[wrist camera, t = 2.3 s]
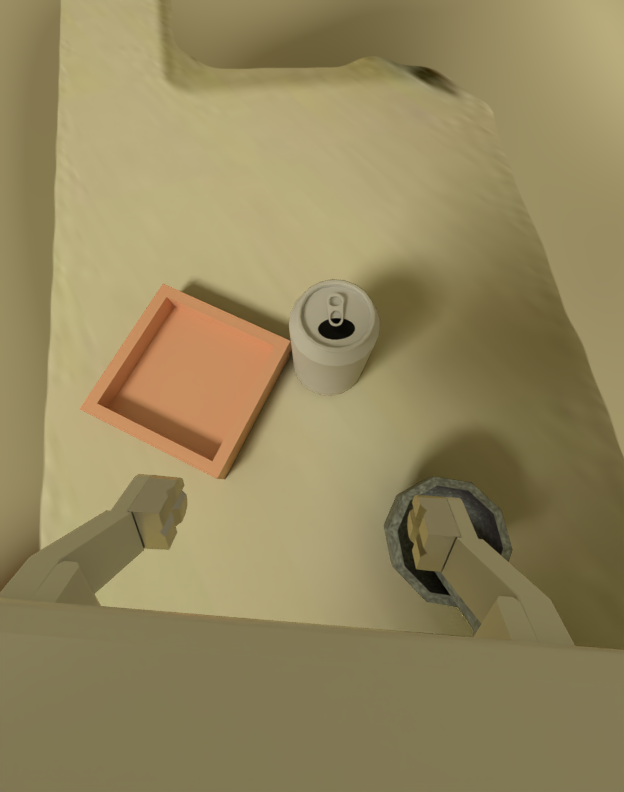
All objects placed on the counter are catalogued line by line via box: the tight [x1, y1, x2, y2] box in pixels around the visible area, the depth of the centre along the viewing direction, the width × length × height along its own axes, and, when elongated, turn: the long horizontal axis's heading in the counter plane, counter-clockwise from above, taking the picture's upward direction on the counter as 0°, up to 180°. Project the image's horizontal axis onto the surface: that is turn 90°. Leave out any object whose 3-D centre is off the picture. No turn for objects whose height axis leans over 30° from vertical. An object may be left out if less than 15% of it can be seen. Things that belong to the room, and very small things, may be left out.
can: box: [289, 279, 380, 396], centre depth 32 cm, size 8×8×12 cm
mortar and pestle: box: [384, 477, 512, 635], centre depth 27 cm, size 11×9×12 cm
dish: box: [80, 284, 292, 479], centre depth 35 cm, size 15×15×3 cm
